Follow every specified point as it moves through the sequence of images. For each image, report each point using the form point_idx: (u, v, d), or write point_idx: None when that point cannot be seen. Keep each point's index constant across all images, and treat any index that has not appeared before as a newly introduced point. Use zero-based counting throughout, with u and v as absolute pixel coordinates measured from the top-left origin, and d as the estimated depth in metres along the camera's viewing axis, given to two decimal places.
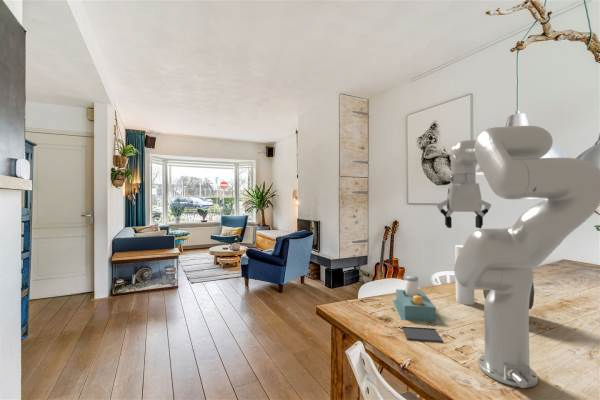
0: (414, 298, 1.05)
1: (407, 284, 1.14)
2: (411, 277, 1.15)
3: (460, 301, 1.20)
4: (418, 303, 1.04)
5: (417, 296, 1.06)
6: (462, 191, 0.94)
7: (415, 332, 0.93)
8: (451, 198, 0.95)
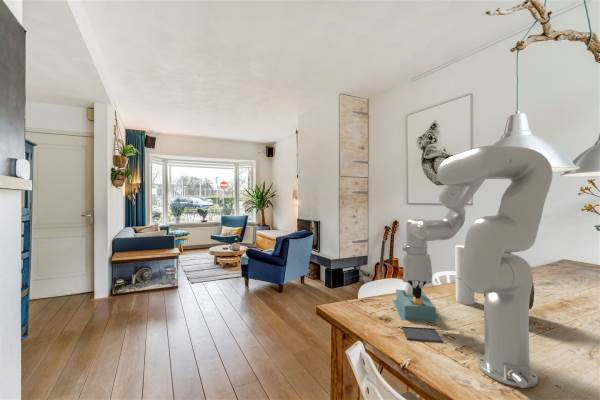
0: (414, 299, 1.05)
1: (407, 284, 1.14)
2: None
3: (460, 301, 1.20)
4: (418, 303, 1.04)
5: None
6: (415, 263, 1.03)
7: (415, 332, 0.93)
8: (405, 268, 1.04)
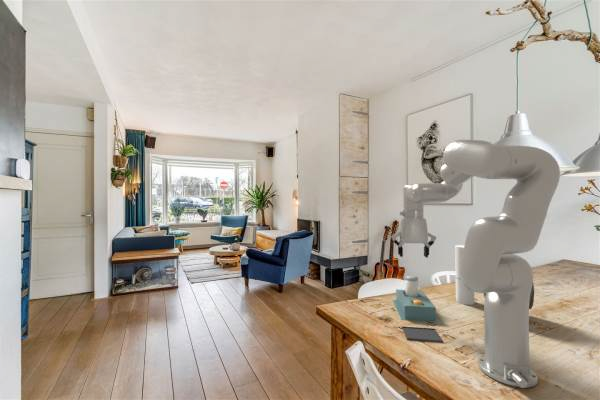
0: (414, 303, 1.05)
1: (407, 284, 1.14)
2: (411, 277, 1.15)
3: (460, 301, 1.20)
4: None
5: (417, 300, 1.06)
6: (411, 226, 1.08)
7: (415, 332, 0.93)
8: (402, 231, 1.09)
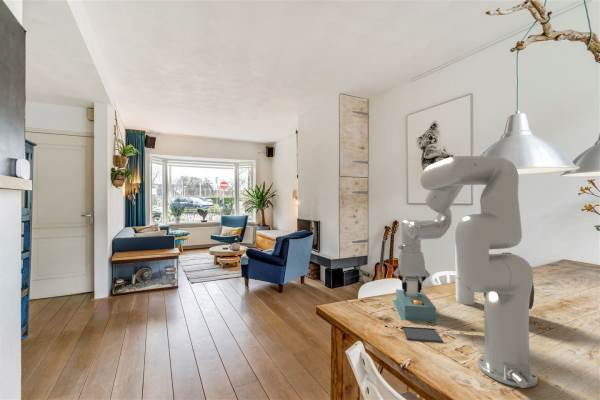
0: (414, 303, 1.05)
1: (407, 284, 1.14)
2: (411, 277, 1.15)
3: (460, 301, 1.20)
4: None
5: (417, 300, 1.06)
6: (409, 260, 1.13)
7: (415, 332, 0.93)
8: (400, 265, 1.14)
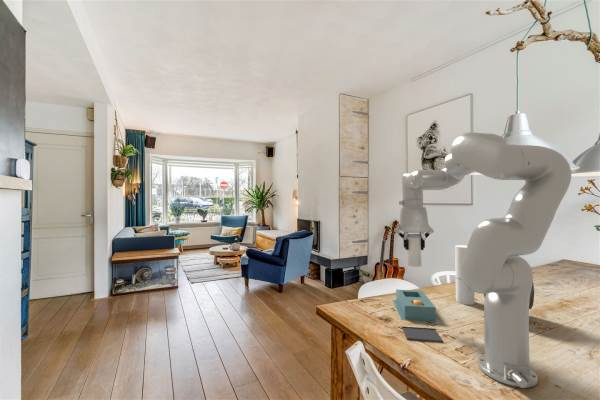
0: (414, 303, 1.05)
1: (409, 241, 1.06)
2: (413, 234, 1.07)
3: (460, 301, 1.20)
4: None
5: (417, 300, 1.06)
6: (411, 215, 1.05)
7: (415, 332, 0.93)
8: (402, 220, 1.06)
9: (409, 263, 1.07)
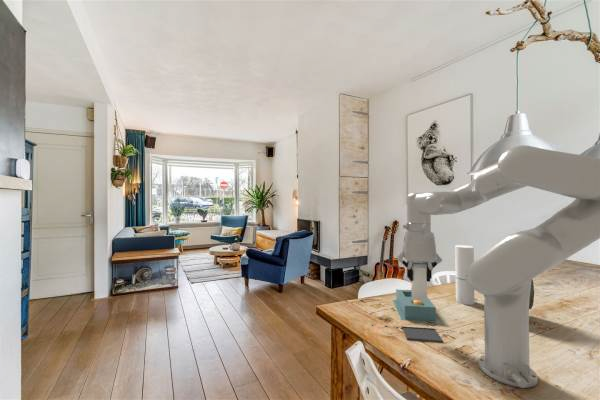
0: (414, 303, 1.05)
1: (414, 271, 0.93)
2: (418, 263, 0.94)
3: (460, 301, 1.20)
4: None
5: (417, 300, 1.06)
6: (417, 241, 0.92)
7: (415, 332, 0.93)
8: (406, 248, 0.93)
9: (413, 296, 0.93)
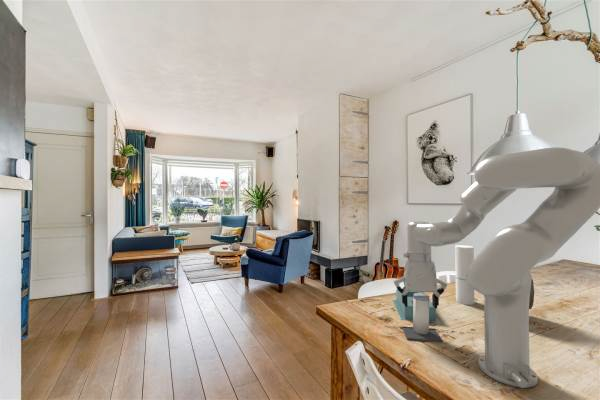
0: None
1: (416, 304, 0.93)
2: (421, 295, 0.94)
3: (460, 301, 1.20)
4: None
5: None
6: (417, 271, 0.91)
7: (415, 332, 0.93)
8: (406, 277, 0.92)
9: (414, 329, 0.93)
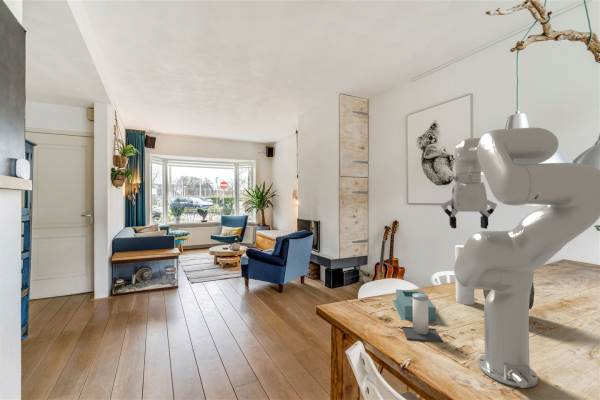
0: None
1: (415, 304, 0.93)
2: (420, 295, 0.94)
3: (460, 301, 1.20)
4: None
5: None
6: (467, 191, 0.91)
7: None
8: (456, 198, 0.92)
9: (414, 329, 0.93)
